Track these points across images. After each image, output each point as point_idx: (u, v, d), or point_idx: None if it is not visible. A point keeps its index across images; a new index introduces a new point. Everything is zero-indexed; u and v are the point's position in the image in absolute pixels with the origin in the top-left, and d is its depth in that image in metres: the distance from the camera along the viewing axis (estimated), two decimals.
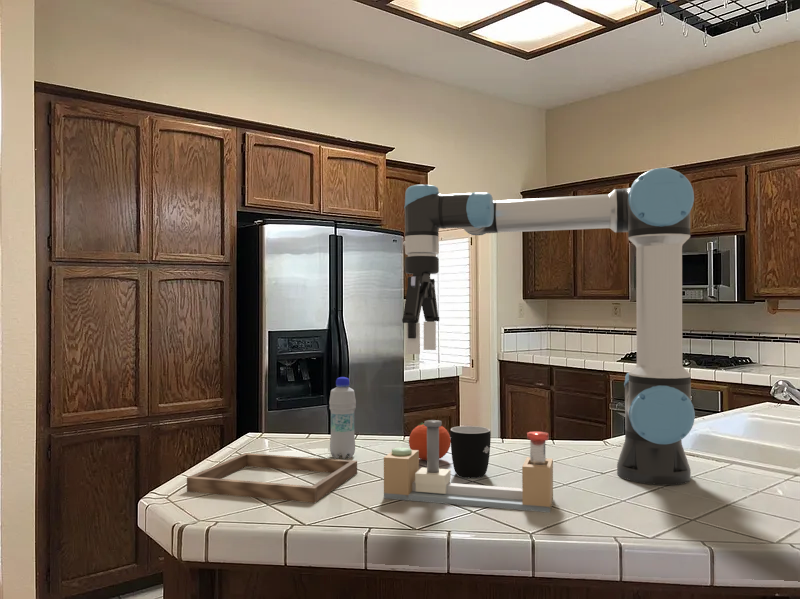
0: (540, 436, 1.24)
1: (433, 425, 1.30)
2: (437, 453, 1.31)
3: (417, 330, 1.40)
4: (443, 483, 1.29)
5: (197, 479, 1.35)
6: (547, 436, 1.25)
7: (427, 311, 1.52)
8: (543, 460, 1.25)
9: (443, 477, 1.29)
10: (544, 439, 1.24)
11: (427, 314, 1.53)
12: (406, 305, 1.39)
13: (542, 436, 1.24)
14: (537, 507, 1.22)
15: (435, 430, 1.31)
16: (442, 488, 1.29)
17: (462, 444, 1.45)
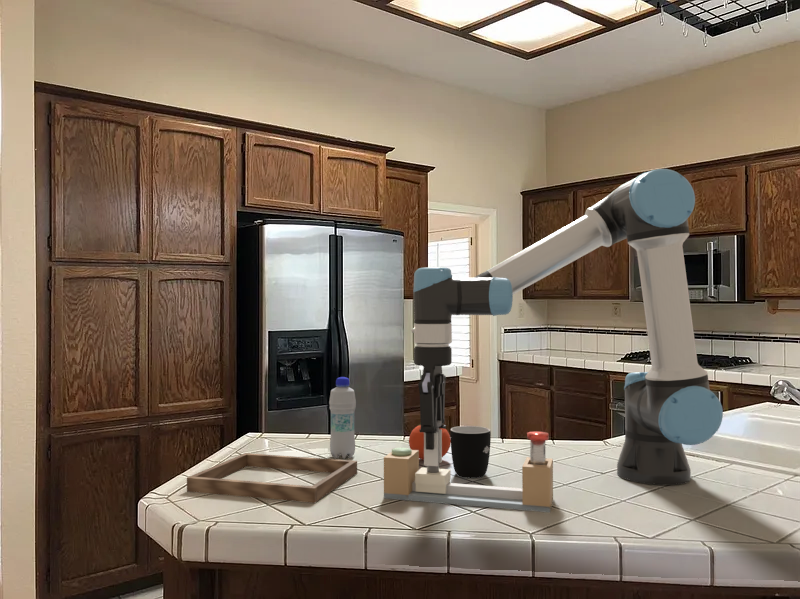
0: (540, 436, 1.24)
1: None
2: None
3: (435, 440, 1.30)
4: (443, 483, 1.29)
5: (197, 479, 1.35)
6: (547, 436, 1.25)
7: None
8: (543, 460, 1.25)
9: (443, 477, 1.29)
10: (544, 439, 1.24)
11: None
12: (422, 416, 1.27)
13: (542, 436, 1.24)
14: (537, 507, 1.22)
15: None
16: (442, 488, 1.29)
17: (462, 445, 1.45)
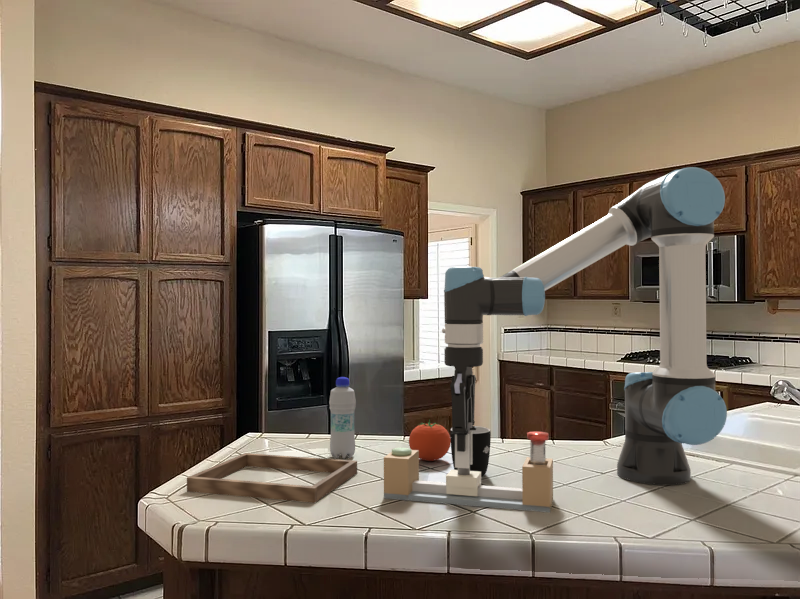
0: (540, 436, 1.24)
1: None
2: None
3: (467, 442, 1.28)
4: (475, 485, 1.27)
5: (197, 479, 1.35)
6: (547, 436, 1.25)
7: None
8: (543, 460, 1.25)
9: (475, 479, 1.27)
10: (544, 439, 1.24)
11: None
12: (454, 417, 1.25)
13: (542, 436, 1.24)
14: (537, 507, 1.22)
15: None
16: (474, 490, 1.27)
17: None
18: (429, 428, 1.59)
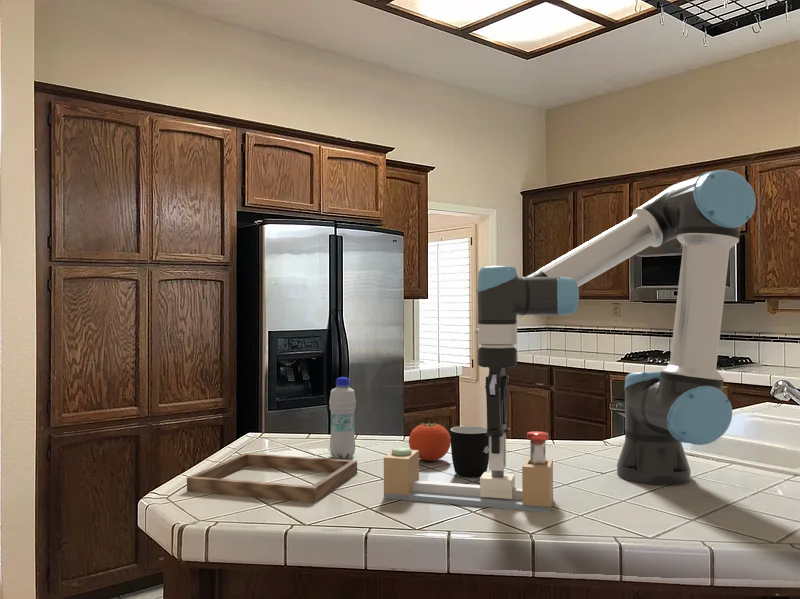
0: (540, 436, 1.24)
1: None
2: None
3: (501, 444, 1.26)
4: (509, 488, 1.25)
5: (197, 479, 1.35)
6: (547, 436, 1.25)
7: None
8: (543, 460, 1.25)
9: (509, 482, 1.25)
10: (544, 439, 1.24)
11: None
12: (488, 419, 1.24)
13: (542, 436, 1.24)
14: (537, 507, 1.22)
15: None
16: (508, 493, 1.25)
17: (462, 445, 1.45)
18: (429, 428, 1.59)
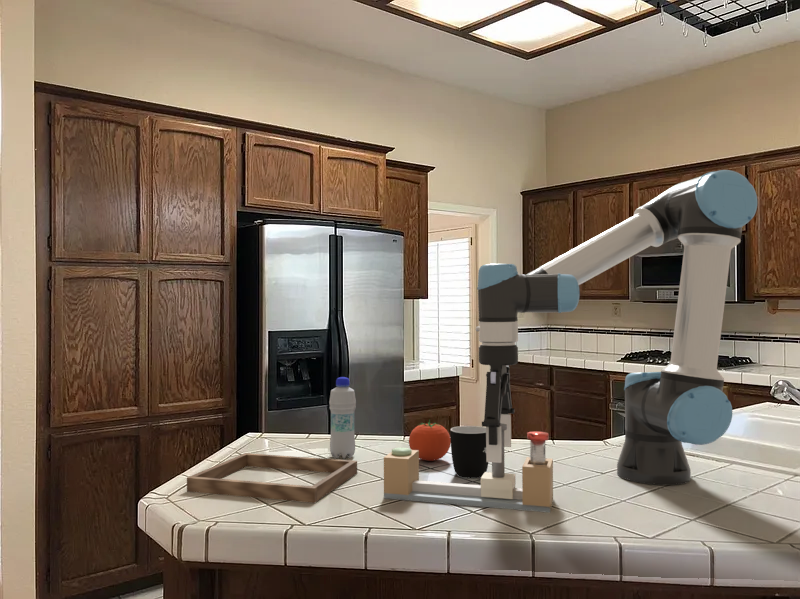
0: (540, 436, 1.24)
1: None
2: (503, 457, 1.27)
3: (499, 435, 1.21)
4: (510, 488, 1.25)
5: (197, 479, 1.35)
6: (547, 436, 1.25)
7: (502, 403, 1.34)
8: (543, 460, 1.25)
9: (510, 482, 1.25)
10: (544, 439, 1.24)
11: (501, 406, 1.34)
12: (487, 407, 1.20)
13: (542, 436, 1.24)
14: (537, 507, 1.22)
15: (501, 433, 1.27)
16: (509, 493, 1.25)
17: (462, 445, 1.45)
18: (429, 428, 1.59)
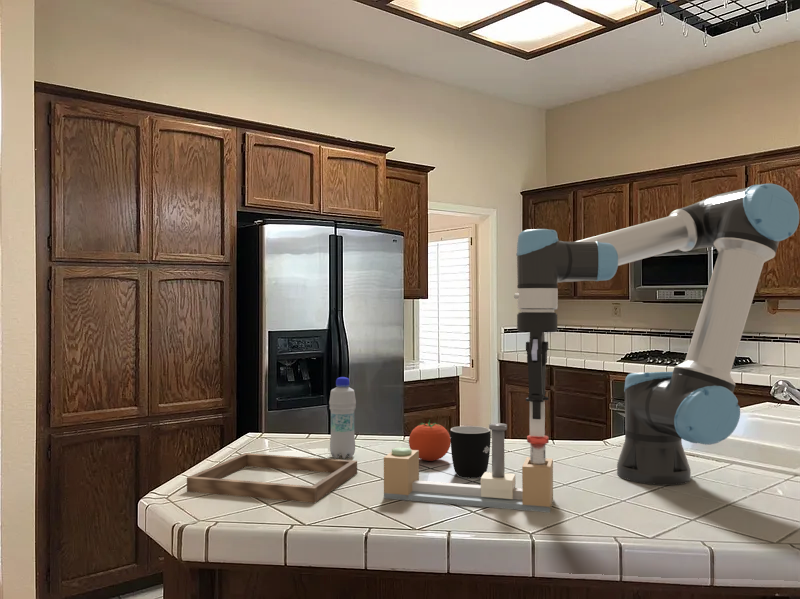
0: (540, 439, 1.24)
1: (499, 428, 1.27)
2: (503, 457, 1.27)
3: (542, 409, 1.25)
4: (510, 488, 1.25)
5: (197, 479, 1.35)
6: (547, 439, 1.25)
7: None
8: (543, 463, 1.25)
9: (510, 482, 1.25)
10: (544, 442, 1.24)
11: None
12: (530, 384, 1.22)
13: (542, 439, 1.24)
14: (537, 507, 1.22)
15: (501, 433, 1.27)
16: (509, 493, 1.25)
17: (462, 445, 1.45)
18: (429, 428, 1.59)
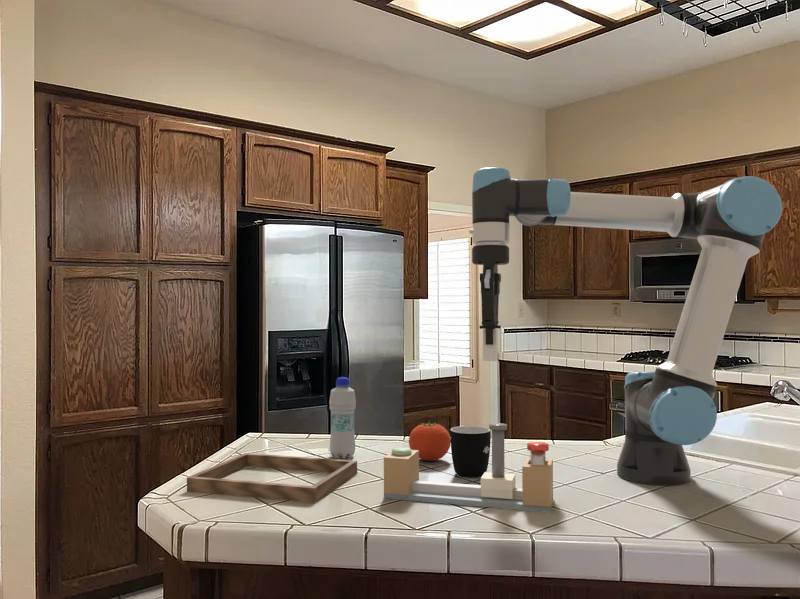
0: (540, 447, 1.24)
1: (499, 428, 1.27)
2: (503, 457, 1.27)
3: (494, 336, 1.34)
4: (510, 488, 1.25)
5: (197, 479, 1.35)
6: (547, 447, 1.25)
7: None
8: None
9: (510, 482, 1.25)
10: (544, 450, 1.24)
11: None
12: (483, 311, 1.31)
13: (542, 447, 1.24)
14: (537, 507, 1.22)
15: (501, 433, 1.27)
16: (509, 493, 1.25)
17: (462, 445, 1.45)
18: (429, 428, 1.59)
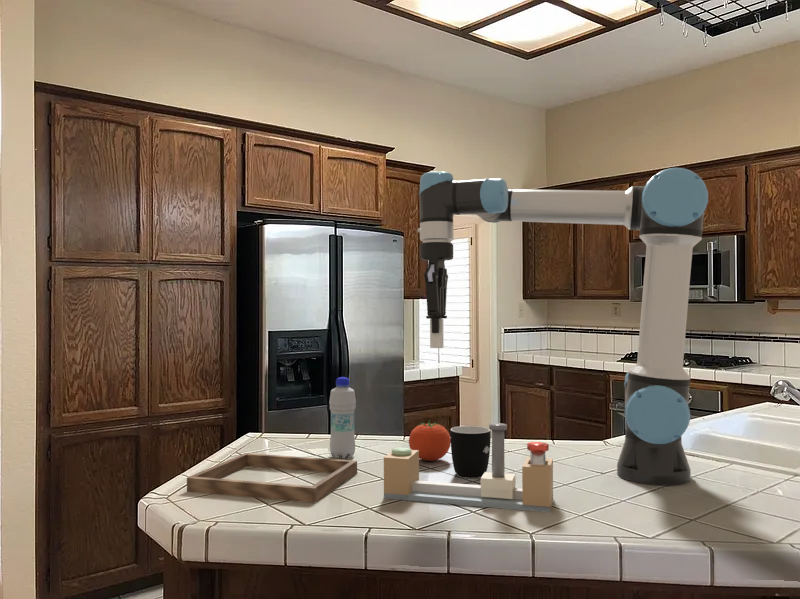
0: (540, 447, 1.24)
1: (499, 428, 1.27)
2: (503, 457, 1.27)
3: (440, 325, 1.47)
4: (510, 488, 1.25)
5: (197, 479, 1.35)
6: (547, 447, 1.25)
7: None
8: None
9: (510, 482, 1.25)
10: (544, 450, 1.24)
11: None
12: (428, 302, 1.45)
13: (542, 447, 1.24)
14: (537, 507, 1.22)
15: (501, 433, 1.27)
16: (509, 493, 1.25)
17: (462, 445, 1.45)
18: (429, 428, 1.59)
